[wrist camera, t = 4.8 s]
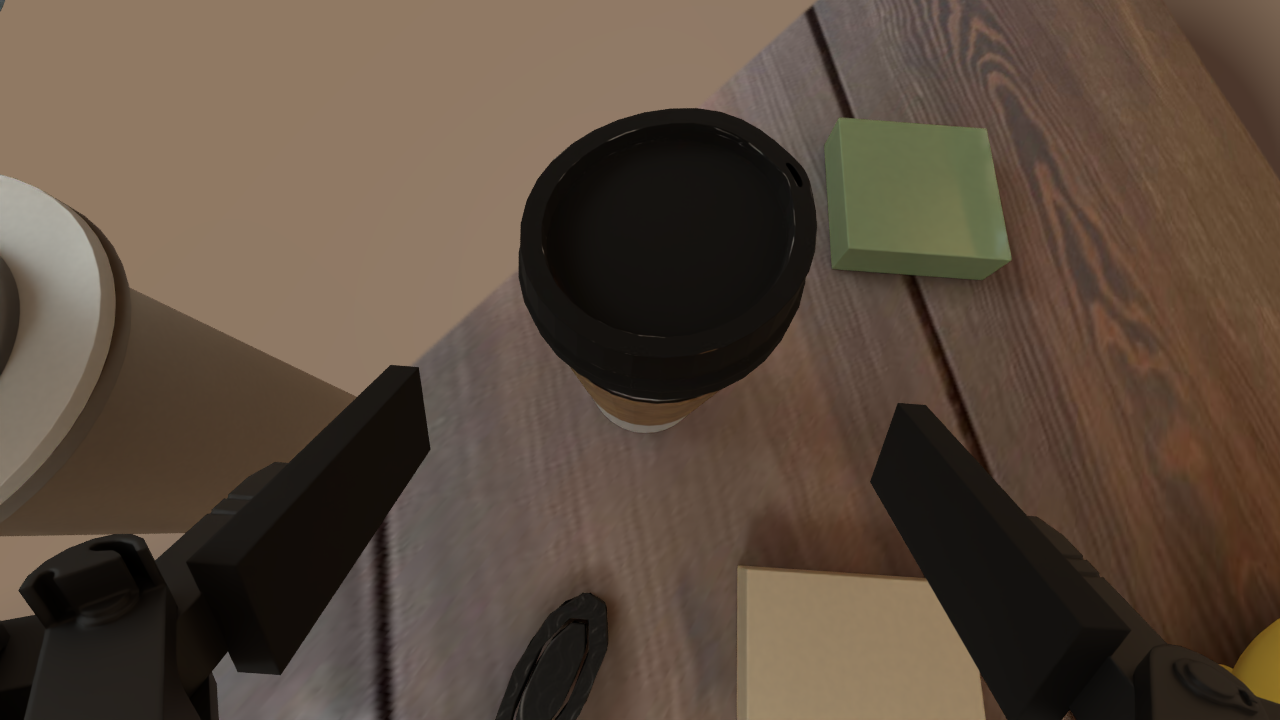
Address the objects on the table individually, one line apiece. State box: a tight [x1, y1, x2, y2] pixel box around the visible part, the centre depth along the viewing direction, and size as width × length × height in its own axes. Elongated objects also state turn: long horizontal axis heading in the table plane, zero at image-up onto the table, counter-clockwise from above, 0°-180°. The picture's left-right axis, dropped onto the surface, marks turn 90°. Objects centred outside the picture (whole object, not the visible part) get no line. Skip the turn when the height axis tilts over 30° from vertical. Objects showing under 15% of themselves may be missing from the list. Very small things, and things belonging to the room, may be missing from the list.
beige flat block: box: [737, 565, 986, 720], centre depth 22 cm, size 10×8×2 cm
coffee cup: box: [519, 108, 817, 433], centre depth 20 cm, size 8×8×15 cm
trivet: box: [824, 118, 1012, 280], centre depth 30 cm, size 9×9×2 cm
